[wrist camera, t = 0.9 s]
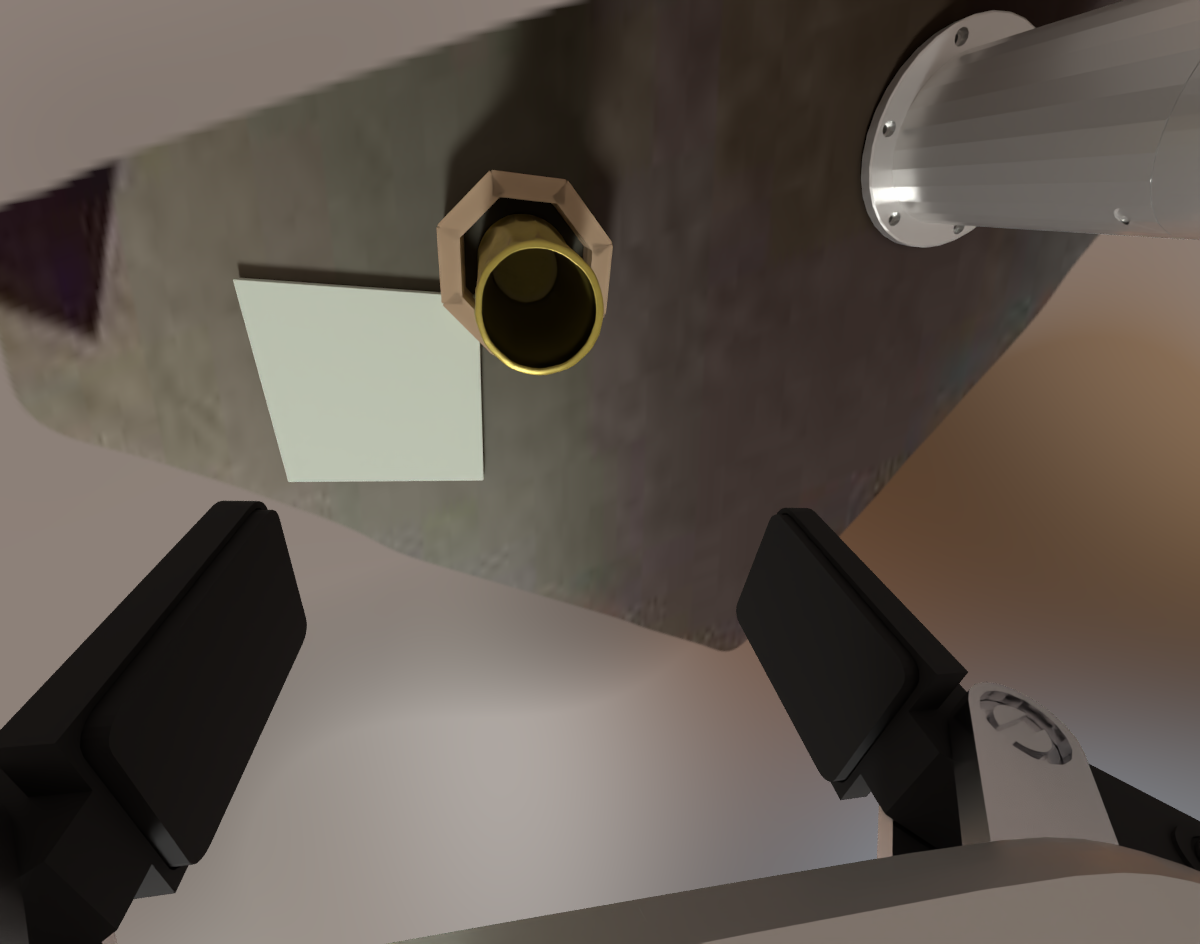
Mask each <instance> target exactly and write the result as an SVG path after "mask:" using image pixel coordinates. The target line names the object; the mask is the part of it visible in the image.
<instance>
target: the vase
mask: <svg viewBox="0 0 1200 944" xmlns="http://www.w3.org/2000/svg"><path fill="white" fill-rule="evenodd" d="M477 267H478V277H477V286H476V288H475V309H474V315H475V321H476V323H477V326H478V329H479V332H480V334H481V337H482V339H483V342H484V343H485V345H486V346H487V348H488V349H489V350H490V351H491V352H492V353H493V354H494V355H495V356H496V357H497V358H498V359H499V360H501V361H502V362H503V363H504V364H505V365H507V366H508V367H510V368H512V369H514V370H516V371H519V372H522V373H526V374H531V375H547V374H552V373H556V372H560V371H563V370H565V369H568V368H570V367H572V366H574V365H575V364H576V363H577V362H579V361H580V360H581V359H582V358H583V357H584V356H585V355H586V354H587V353H588V352H589V351H590V350H591V349H592V347H593V346H594V344H595V342H596V340H597V338H598V336H599V334H600V330H601V325H602V320H603V314H604V303H603V296H602V292H601V288H600V285H599V282H598V280H597V277H596V275H595V273H594V271H593V270H592V268H591V267H590V266H589V265H588V264H587V263H586V262H585V261H584V260H583V259H582V258H581V257H580V256H579V255H578V254H577V253H576V252H575V251H573V250H572V249H571V248H570V247H569V246H568V245H566V242H565V240H564V239H563V237H562V236H561V234H560V233H559V232H558V231H557V230H556V229H555V228H554V227H553V226H552V225H551V224H550V223H548V222H547V221H545V220H544V219H542V218H539V217H537V216H534V215H530V214H512V215H509V216H506V217H504V218H502V219H500V220H498V221H497V222H495V223H494V224H493V225H492V226H491V227H490V228H489V229H488V230H487V231H486V233H485V234H484V236H483V238H482V240H481V243H480V245H479V248H478V253H477Z"/></svg>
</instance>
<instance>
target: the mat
mask: <svg viewBox="0 0 1200 944" xmlns="http://www.w3.org/2000/svg"><path fill="white" fill-rule="evenodd" d="M233 282H234V285H235V289H236V293H237V296H238V300H239V303H240V307H241V311H242V314H243V318H244V322H245V325H246V329H247V333H248V336H249V340H250V344H251V347H252V351H253V355H254V358H255V362H256V365H257V369H258V373H259V376H260V380H261V384H262V387H263V391H264V395H265V398H266V402H267V406H268V409H269V413H270V416H271V420H272V424H273V427H274V431H275V435H276V438H277V442H278V446H279V449H280V453H281V457H282V460H283V464H284V467H285V471H286V475H287V478H288V482H341V481H463V480H483V479H484V467H483V431H482V395H481V359H480V342H479V341H478V340H477V339H476V338H475V337H474V336H473V335H472V334H471V333H470V332H469V331H468V330H467V329H466V328H465V327H464V326H463V325H462V324H461V323H460V322H459V321H458V320H457V319H456V318H455V317H454V316H453V315H452V314H451V313H450V312H449V311H448V310H447V309H446V308H445V307H444V306H443V304H444V303H442V302H441V292H431V291H417V290H403V289H389V288H376V287H362V286H348V285H334V284H321V283H307V282H293V281H279V280H266V279H252V278H236V279H233ZM472 297H473V298H474V299H475V295H473V296H472Z"/></svg>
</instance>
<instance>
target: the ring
mask: <svg viewBox="0 0 1200 944" xmlns="http://www.w3.org/2000/svg"><path fill="white" fill-rule="evenodd" d="M499 197H504V198H513V199H522V200H530V201H539V202H547V203H552V204H553V206H554V207H555V208H556V210H557V211H558V212H559V214H560V215H561V216H562V218H563V219H564V220H565V222H566V223H567V224H568V226H569V227H570V228H571V230H572V231H573V232H574V234H575V235H576V236H577V238H578V239H579V240H580V242H581V243H582V244H583V246H584V247H583V260H584V261H585V262H586V263H587V264H588V265H589V266H590V267H591V268H592V270H593V271H594V273H595V275H596V277H597V280H598V282H599V285H600V288H601V292H602V296H603V303H604V314H606V307H607V297H608V287H609V278H610V268H611V258H612V249H613V245H612V244H611V243H612V242H611V240H610V239H609V237H608V236H607V235H606V233H605V232H604V230H603V229H602V228H601V226H600V225H599V223H598V222H597V221H596V219H595V218H594V216H593V215H592V213H591V212H590V211H589V209H588V208H587V206H586V205H585V204H584V202H583V201H582V199H581V198H580V197H579V195H578V194H577V192H576V191H575V190H574V188H573V187H572V185H571V184H570V183H569V181H566V179H559V178H551V177H543V176H535V175H527V174H520V173H512V172H504V171H496V170H492V174H491V172H490V171H489V172H488V173H487V174H486V175H485V176H484V177H483V178H482V179H481V180H480V181H479V182H478V183H477V184H476V185H475V186H474V187H473V188H472V189H471V190H470V191H469V192H468V193H467V195H466V196H465V197H464V198H463V199H462V200H461V201H460V202H459V203H458V204H457V205H456V206H455V207H454V208H453V209H452V210H451V211H450V212H449V213H448V214H447V215H446V216H445V218H444V219H443V220H442V221H441V222H440V223H439V224H438V227H437V242H438V257H439V272H440V287H441V302H442V303H444V304H443V306H444V307H445V308H446V309H447V310H448V311H449V312H450V313H451V314H452V315H453V316H454V317H455V318H456V319H457V320H458V321H459V322H460V323H461V324H462V325H463V326H464V327H465V328H466V329H467V330H468V331H469V332H470V333H471V334H472V335H473V336H474V337H475V338H476V339H477V340H478V341H479V342H480V343H481V344H482V345H483V346H484V347H485V348H486V349H487V350H488V351H489V352H490V353H491V354H493V353H492V352H491V351H490V350H489V349H488V348H487V346H486V345H485V343H484V342H483V339H482V337H481V334H480V332H479V329H478V326H477V323H476V321H475V315H474V309H475V299H474V298H473V297H472V296H473V294H472V293H471V292H470V291H469V290H468V289H467V288H466V275H465V250H464V233H465V232H466V231H467V230H468V229H469V228H470V227H471V226H472V225H473V224H474V223H475V222H476V221H477V220H478V219H479V218H480V217H481V216H482V215H483V214H484V213H485V212H486V211H487V210H488V209H489V208H490V207H491V206H492V205H493V204H494V203H495V202H496V200H497V199H498V198H499ZM603 317H604V315H603Z"/></svg>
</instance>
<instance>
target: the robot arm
mask: <svg viewBox="0 0 1200 944" xmlns="http://www.w3.org/2000/svg"><path fill="white" fill-rule="evenodd" d="M861 184H862V195H863V199H864V203H865V206H866V210H867V213H868V215H869V217H870V219H871V220H872V222H873V224H874V226H875V227H876V228H877V229H878V230H879V231H880V232H881V233H882V234H883V236H885V237H886V238H888V239H890V240H891V241H893V242H895V243H898V244H902V245H906V246H912V247H923V248H924V247H932V246H939V245H942V244H945V243H948V242H951V241H954V240H956V239H957V238H959V237H961V236H963V235H965V234H967V233H968V232H970V231H971V230H973V229H974V228H975V227H977V226H981V227H997V228H1013V229H1028V230H1044V231H1060V232H1076V233H1092V234H1109V235H1124V236H1139V237H1155V238H1172V239H1193V240H1200V0H1124V1H1120V2H1117V3H1114V4H1111V5H1108V6H1104V7H1101V8H1098V9H1095V10H1092V11H1089V12H1085V13H1082V14H1079V15H1076V16H1073V17H1069V18H1066V19H1063V20H1060V21H1057V22H1054V23H1050V24H1047V25H1044V26H1041V27H1038V28H1035V27H1034V26H1033V25H1032V24H1031V23H1030V22H1029V21H1028V20H1027V19H1026V18H1024V17H1022V16H1020V15H1018V14H1015V13H1013V12H1010V11H999V10H992V11H987V12H982V13H977V14H973V15H971V16H968V17H966V18H963V19H961V20H958V21H956V22H953V23H952V24H950V25H948V26H947V27H945V28H943V29H942V30H940V31H938V32H936V33H935V34H934V35H933V36H931V37H930V38H929V39H928V40H927V41H926V42H924V43H923V44H922V45H921V46H920V47H918V48H917V49H916V50H915V52H914V53H913V54H912V55H911V56H910V57H909V58H908V60H907V61H906V62H905V63H904V64H903V65H902V66H901V68H900V69H899V71H898V72H897V74H896V75H895V77H894V78H893V80H892V81H891V83H890V84H889V86H888V87H887V89H886V91H885V93H884V95H883V97H882V99H881V101H880V103H879V105H878V107H877V109H876V111H875V113H874V116H873V119H872V122H871V125H870V128H869V130H868V133H867V137H866V142H865V147H864V151H863V156H862V169H861ZM736 612H737V618H738V621H739V623H740V625H741V627H742V629H743V631H744V633H745V635H746V636H747V638H748V640H749V642H750V644H751V646H752V648H753V649H754V651H755V653H756V655H757V657H758V659H759V661H760V662H761V664H762V666H763V668H764V670H765V672H766V674H767V676H768V678H769V679H770V681H771V683H772V685H773V687H774V689H775V690H776V692H777V694H778V696H779V698H780V700H781V702H782V704H783V706H784V707H785V709H786V711H787V713H788V715H789V717H790V719H791V720H792V722H793V724H794V726H795V728H796V730H797V732H798V733H799V735H800V737H801V739H802V741H803V743H804V745H805V747H806V749H807V750H808V752H809V754H810V756H811V758H812V760H813V762H814V763H815V765H816V767H817V769H818V771H819V772H820V774H821V775H822V776H823V777H824V778H825V779H826V780H827V781H830V782H831V784H832V785H833V787H834V789H835V791H836V792H837V794H838V796H839V798H840V800H844V799H852V798H859V797H866V796H867V795H868V794H869V793H870V792H872V793H873V795H874V797H875V798H876V800H877V802H878V803H879V816H878V846H877V859H873V860H867V861H861V862H855V863H849V864H843V865H837V866H831V867H825V868H819V869H813V870H807V871H801V872H795V873H790V874H783V875H777V876H771V877H766V878H759V879H753V880H747V881H742V882H736V883H731V884H724V885H719V886H713V887H707V888H701V889H695V890H690V891H684V892H678V893H672V894H666V895H661V896H655V897H649V898H643V899H637V900H632V901H626V902H620V903H615V904H609V905H603V906H597V907H592V908H586V909H580V910H575V911H569V912H563V913H557V914H552V915H546V916H540V917H534V918H529V919H523V920H517V921H511V922H506V923H500V924H495V925H489V926H484V927H478V928H472V929H466V930H461V931H455V932H450V933H444V934H439V935H433V936H428V937H422V938H416V939H411V940H405V941H399V942H394V943H388V944H1200V821H1198V820H1196V819H1194V818H1192V817H1191V816H1188V815H1187V814H1185V813H1183V812H1181V811H1179V810H1177V809H1175V808H1173V807H1171V806H1169V805H1167V804H1165V803H1163V802H1162V801H1159V800H1158V799H1156V798H1154V797H1152V796H1150V795H1148V794H1146V793H1144V792H1142V791H1140V790H1138V789H1136V788H1134V787H1133V786H1131V785H1129V784H1127V783H1125V782H1123V781H1121V780H1119V779H1117V778H1115V777H1113V776H1111V775H1109V774H1107V773H1106V772H1104V771H1102V770H1100V769H1098V768H1096V767H1094V766H1092V765H1090V764H1088V761H1087V758H1086V756H1085V753H1084V751H1083V749H1082V748H1081V746H1080V744H1079V742H1078V740H1077V739H1076V737H1075V736H1074V735H1073V734H1072V733H1071V732H1070V730H1069V729H1068V728H1067V727H1066V726H1065V725H1064V724H1063V723H1062V722H1061V721H1060V720H1059V719H1058V718H1057V717H1056V716H1054V715H1053V714H1052V713H1051V712H1050V711H1049V710H1048V709H1046V708H1045V707H1043V706H1042V705H1040V704H1039V703H1037V702H1036V701H1034V700H1033V699H1032V698H1030V697H1028V696H1026V695H1024V694H1022V693H1020V692H1018V691H1017V690H1014V689H1012V688H1009V687H1006V686H1003V685H1000V684H996V683H989V682H982V683H977V684H974V685H973V686H972V688H970V689H969V691H968V692H966V691H965V690H964V689H963V688H962V686H961V685H960V684H959V683H960V682H961V680H962V679H963V678H964V677H965V675H966V674H967V673H968V671H967V670H966V669H965V668H964V667H963V666H962V665H961V664H960V663H959V662H958V661H957V660H956V659H955V658H954V657H953V656H952V655H951V654H950V652H949V651H948V650H947V649H946V648H945V647H944V646H943V645H941V643H940V642H939V641H938V640H937V639H936V638H935V637H934V636H933V635H932V634H931V633H930V632H929V631H928V629H927V628H926V627H925V626H924V625H923V624H922V623H921V622H920V621H919V620H918V619H917V618H916V617H915V616H914V615H913V614H912V613H911V612H910V611H909V610H908V609H907V608H906V607H905V606H904V605H903V603H902V602H901V601H900V600H899V599H898V598H897V597H896V596H895V595H894V594H893V593H892V592H891V591H890V590H889V589H888V588H887V587H886V586H885V585H884V584H883V583H882V581H881V580H880V579H879V578H878V577H877V576H876V575H875V574H874V573H873V572H872V571H871V570H870V569H869V568H868V567H867V566H866V565H865V564H864V563H863V562H862V561H861V560H860V559H859V558H858V556H857V555H856V554H855V553H854V552H853V551H852V550H851V549H850V548H849V547H848V546H847V545H846V544H845V543H844V542H843V541H842V540H841V539H840V538H839V537H838V536H837V535H836V533H835V532H834V531H833V530H832V529H831V528H830V527H829V526H828V525H827V524H826V523H825V522H824V521H823V520H822V519H821V518H820V517H819V516H818V515H817V514H816V513H815V512H814V511H813V510H812V509H808V508H783V509H781V510H780V511H779V512H778V513H777V515H774V516H772V517H771V519H770V521H769V523H768V526H767V529H766V531H765V534H764V536H763V539H762V542H761V544H760V547H759V549H758V552H757V554H756V557H755V560H754V562H753V565H752V567H751V570H750V572H749V575H748V578H747V580H746V583H745V585H744V588H743V591H742V593H741V596H740V598H739V601H738V603H737V609H736ZM306 628H307V622H306V617H305V613H304V609H303V606H302V602H301V598H300V594H299V591H298V587H297V583H296V579H295V575H294V572H293V568H292V564H291V560H290V557H289V553H288V549H287V545H286V542H285V538H284V534H283V530H282V527H281V522H280V519H279V516H278V514H277V512H276V511H274V510H267V507H266V506H265V505H264V503H262V502H260V501H220V502H217V503H216V504H215V505H213V506H212V507H211V509H209V510H208V512H207V513H206V514H205V515H204V516H203V517H202V518H201V519H200V520H199V521H198V522H197V523H196V524H195V525H194V526H193V527H192V528H191V529H190V531H189V532H188V533H187V534H186V535H185V536H184V537H183V538H182V539H181V540H180V541H179V542H178V543H177V544H176V545H175V546H174V547H173V549H171V551H170V552H169V553H168V554H167V555H166V556H165V557H164V558H163V559H162V560H161V561H160V562H159V563H158V565H156V567H155V568H154V569H153V570H152V571H151V572H150V573H149V574H148V575H147V576H146V577H145V578H144V579H143V580H142V581H141V582H140V583H139V584H138V585H137V586H136V588H135V589H134V590H133V591H132V592H131V593H130V594H129V595H128V596H127V597H126V598H125V599H124V600H123V601H122V602H121V604H119V605H118V606H117V608H116V609H115V610H114V611H113V612H112V613H111V614H110V615H109V616H108V617H107V618H106V619H105V620H104V621H103V622H102V623H101V624H100V626H99V627H98V628H97V629H96V630H95V631H94V632H93V633H92V634H91V635H90V636H89V637H88V638H87V639H86V640H85V641H84V642H83V643H82V644H81V645H80V647H79V648H78V649H77V650H76V651H75V652H74V653H73V654H72V655H71V656H70V657H69V658H68V659H67V660H66V661H65V662H64V663H63V664H62V666H61V667H60V668H59V669H58V670H57V671H56V672H55V673H54V674H53V675H52V676H51V677H50V678H49V679H48V681H46V682H45V683H44V685H43V686H42V687H41V688H40V689H39V690H38V691H37V692H36V693H35V694H34V695H33V696H32V697H31V698H30V699H29V700H28V701H27V702H26V704H25V705H24V706H23V707H22V708H21V709H20V710H19V711H18V712H17V713H16V714H15V715H14V716H13V717H12V718H11V720H9V722H8V723H7V724H6V725H5V726H4V727H3V728H2V729H1V730H0V944H117V941H116V937H115V931H116V930H117V929H118V927H119V925H120V923H121V921H122V920H123V918H124V916H125V914H126V912H127V910H128V908H129V906H130V905H131V903H132V901H133V899H137V898H144V897H151V896H158V895H165V894H172V893H175V892H176V890H177V888H178V886H179V884H180V882H181V880H182V878H183V875H184V873H185V871H186V869H187V867H188V865H192V864H196V863H197V862H198V861H199V860H201V859H202V857H203V856H204V855H205V853H206V852H207V849H208V848H209V846H210V844H211V842H212V840H213V837H214V835H215V833H216V831H217V829H218V827H219V824H220V822H221V820H222V818H223V816H224V814H225V811H226V809H227V807H228V805H229V803H230V800H231V798H232V796H233V794H234V792H235V790H236V787H237V785H238V783H239V781H240V779H241V776H242V774H243V772H244V770H245V768H246V766H247V763H248V761H249V759H250V757H251V755H252V753H253V750H254V748H255V746H256V744H257V742H258V739H259V737H260V735H261V733H262V731H263V729H264V726H265V724H266V722H267V720H268V718H269V715H270V713H271V711H272V709H273V707H274V705H275V702H276V700H277V698H278V696H279V694H280V691H281V689H282V687H283V685H284V683H285V681H286V678H287V676H288V674H289V672H290V670H291V668H292V665H293V663H294V661H295V659H296V657H297V654H298V652H299V650H300V648H301V645H302V644H303V641H304V638H305V635H306Z"/></svg>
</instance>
